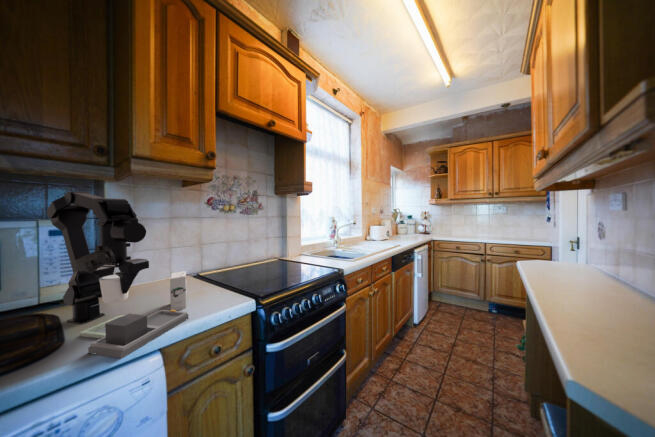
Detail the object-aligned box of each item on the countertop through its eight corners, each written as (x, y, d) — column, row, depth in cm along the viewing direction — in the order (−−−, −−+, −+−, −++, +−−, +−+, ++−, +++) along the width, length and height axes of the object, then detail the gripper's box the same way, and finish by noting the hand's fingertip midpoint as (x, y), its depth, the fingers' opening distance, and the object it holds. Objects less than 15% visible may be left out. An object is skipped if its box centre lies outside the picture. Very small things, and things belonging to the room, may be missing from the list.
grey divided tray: (88, 353, 58) (87, 327, 58) (162, 315, 79) (162, 296, 79) (121, 358, 56) (120, 331, 56) (188, 318, 77) (188, 298, 77)
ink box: (171, 302, 90) (170, 272, 89) (186, 300, 92) (186, 270, 92) (170, 311, 83) (169, 278, 82) (186, 308, 85) (186, 275, 85)
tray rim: (79, 335, 66) (79, 332, 66) (120, 318, 77) (120, 315, 77) (111, 339, 64) (111, 336, 64) (148, 321, 75) (148, 318, 75)
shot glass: (134, 297, 72) (134, 275, 71) (104, 305, 66) (104, 281, 65) (125, 293, 75) (124, 272, 75) (96, 300, 69) (95, 277, 69)
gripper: (53, 243, 64) (56, 300, 64) (109, 246, 60) (111, 306, 61) (100, 238, 74) (102, 287, 75) (149, 240, 71) (151, 291, 72)
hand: (115, 292), depth 70 cm, fingers closed on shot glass, 6 cm apart
